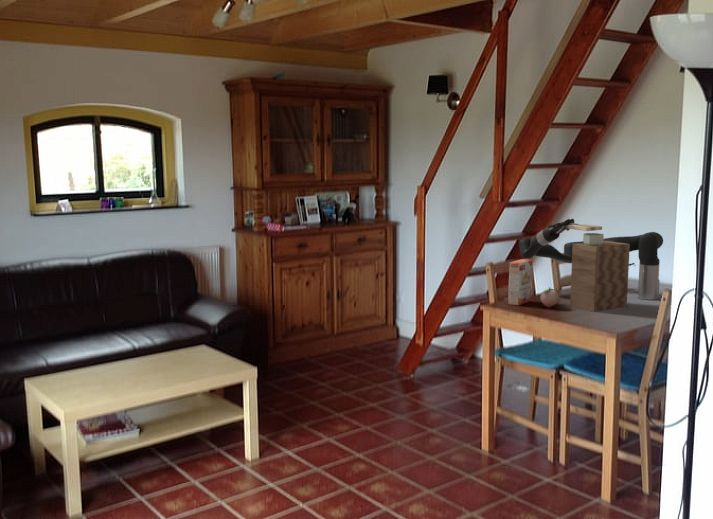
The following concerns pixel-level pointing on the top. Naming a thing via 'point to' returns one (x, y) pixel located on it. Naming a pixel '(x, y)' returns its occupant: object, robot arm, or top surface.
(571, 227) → the lid
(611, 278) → the stand
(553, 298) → the decorative fruit
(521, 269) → the cracker box
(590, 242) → the pale grey block
